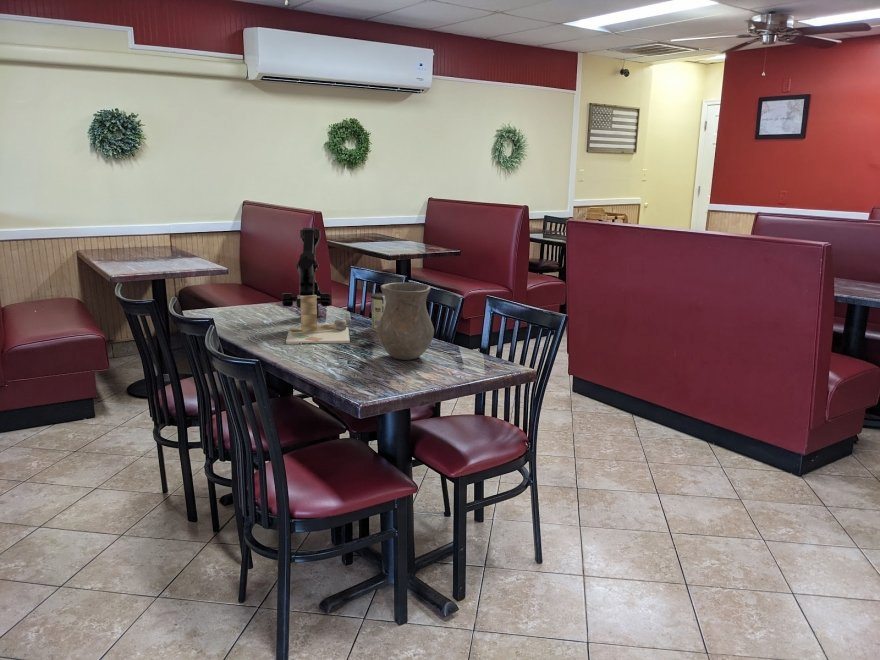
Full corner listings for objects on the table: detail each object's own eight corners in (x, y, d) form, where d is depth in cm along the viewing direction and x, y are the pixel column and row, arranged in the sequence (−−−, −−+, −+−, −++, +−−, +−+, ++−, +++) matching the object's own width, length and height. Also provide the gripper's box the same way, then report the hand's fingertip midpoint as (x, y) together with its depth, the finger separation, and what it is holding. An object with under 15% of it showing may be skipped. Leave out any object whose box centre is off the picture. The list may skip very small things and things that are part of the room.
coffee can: (397, 326, 285) (398, 292, 282) (395, 332, 275) (396, 297, 272) (372, 326, 285) (372, 292, 282) (369, 331, 275) (369, 296, 272)
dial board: (348, 329, 277) (348, 326, 277) (349, 343, 256) (349, 339, 256) (289, 330, 274) (289, 327, 274) (286, 344, 253) (286, 340, 252)
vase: (442, 354, 244) (443, 284, 238) (420, 367, 226) (421, 292, 221) (391, 348, 251) (391, 279, 245) (366, 360, 233) (366, 287, 228)
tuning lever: (343, 326, 276) (343, 292, 273) (348, 329, 272) (347, 293, 269) (289, 332, 265) (288, 296, 261) (293, 334, 261) (292, 298, 258)
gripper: (330, 296, 283) (331, 328, 275) (284, 296, 280) (283, 329, 272) (330, 280, 273) (331, 313, 265) (282, 280, 270) (281, 313, 262)
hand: (306, 317), depth 266 cm, fingers closed
